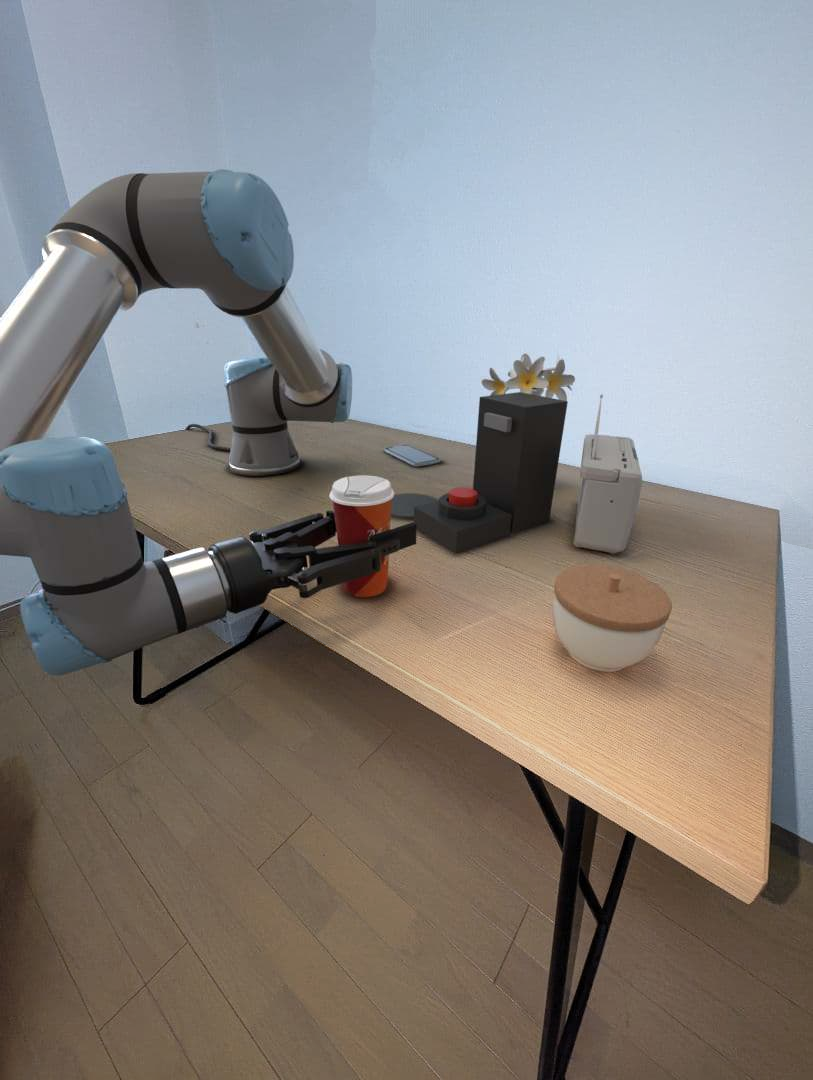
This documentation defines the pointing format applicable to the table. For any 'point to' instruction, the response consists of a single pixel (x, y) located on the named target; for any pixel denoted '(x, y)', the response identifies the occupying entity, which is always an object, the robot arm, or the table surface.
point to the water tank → (519, 455)
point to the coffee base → (462, 523)
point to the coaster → (408, 504)
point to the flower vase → (532, 378)
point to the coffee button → (463, 497)
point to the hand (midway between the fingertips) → (396, 523)
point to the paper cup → (363, 523)
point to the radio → (607, 492)
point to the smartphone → (412, 455)
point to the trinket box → (608, 615)
